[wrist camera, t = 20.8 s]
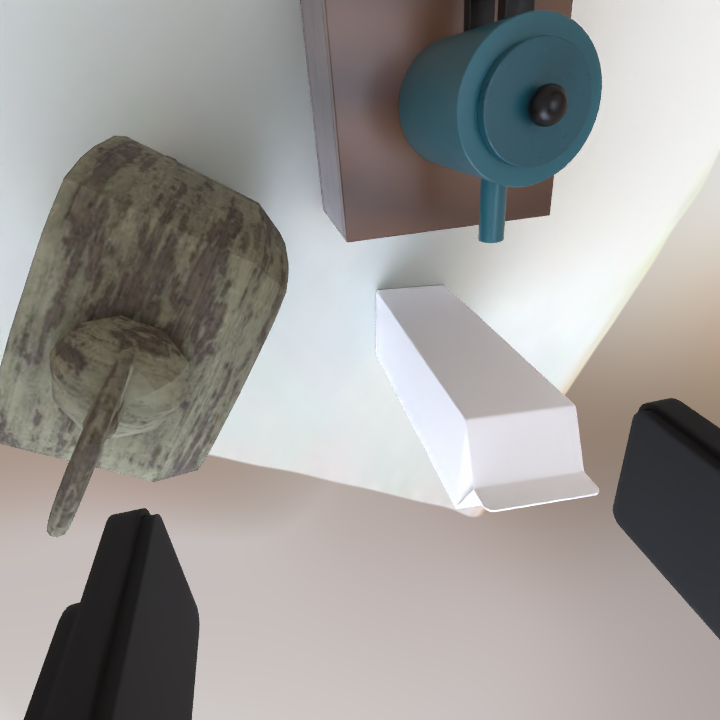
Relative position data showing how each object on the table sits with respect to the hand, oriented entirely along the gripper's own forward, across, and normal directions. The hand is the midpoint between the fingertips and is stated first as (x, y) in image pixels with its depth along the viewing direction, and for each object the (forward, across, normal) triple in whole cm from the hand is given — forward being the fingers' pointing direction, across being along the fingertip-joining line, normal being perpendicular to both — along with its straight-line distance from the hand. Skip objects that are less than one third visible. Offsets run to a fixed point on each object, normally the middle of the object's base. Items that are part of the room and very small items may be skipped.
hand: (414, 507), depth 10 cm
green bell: (+30, +8, +2) cm, 32 cm away
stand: (+30, -9, -7) cm, 32 cm away
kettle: (+21, -9, -6) cm, 23 cm away
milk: (+30, -9, +10) cm, 33 cm away
